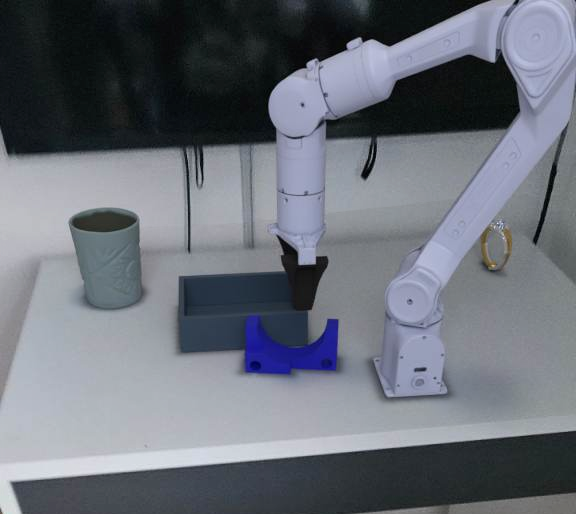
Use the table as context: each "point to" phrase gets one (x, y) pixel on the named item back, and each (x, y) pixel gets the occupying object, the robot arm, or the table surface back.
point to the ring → (506, 243)
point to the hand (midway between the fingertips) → (300, 295)
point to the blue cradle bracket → (288, 350)
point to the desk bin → (237, 310)
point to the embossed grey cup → (108, 255)
